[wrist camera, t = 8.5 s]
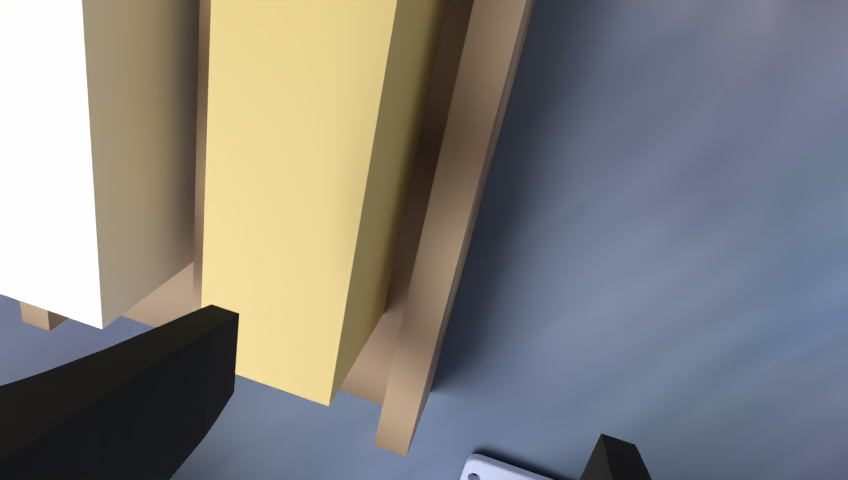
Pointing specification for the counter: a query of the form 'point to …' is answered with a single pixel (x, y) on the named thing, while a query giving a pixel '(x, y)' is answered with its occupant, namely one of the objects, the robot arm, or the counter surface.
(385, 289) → the pale yellow bar
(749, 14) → the counter surface
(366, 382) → the slot board
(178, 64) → the white bar
